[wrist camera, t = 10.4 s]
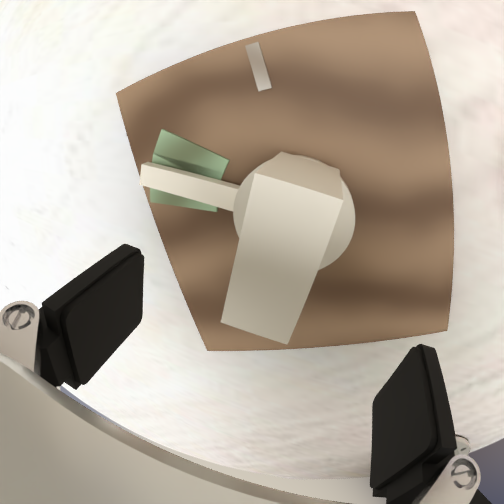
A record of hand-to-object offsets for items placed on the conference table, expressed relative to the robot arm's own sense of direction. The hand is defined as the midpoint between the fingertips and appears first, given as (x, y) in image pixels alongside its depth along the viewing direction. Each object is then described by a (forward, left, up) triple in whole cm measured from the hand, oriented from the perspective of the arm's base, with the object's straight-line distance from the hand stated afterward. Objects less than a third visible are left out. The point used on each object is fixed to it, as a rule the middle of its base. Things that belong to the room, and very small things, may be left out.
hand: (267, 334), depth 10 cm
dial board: (+1, 0, -12) cm, 12 cm away
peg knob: (+2, +3, -10) cm, 11 cm away
